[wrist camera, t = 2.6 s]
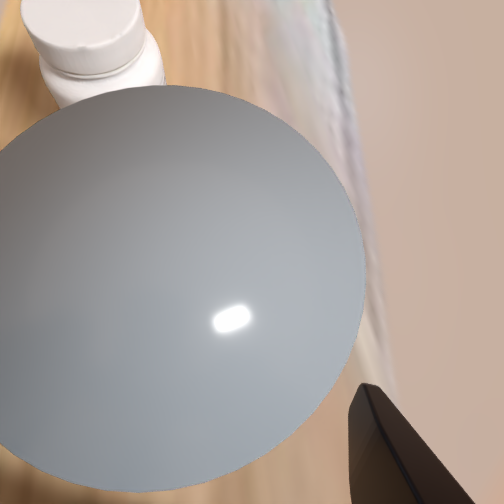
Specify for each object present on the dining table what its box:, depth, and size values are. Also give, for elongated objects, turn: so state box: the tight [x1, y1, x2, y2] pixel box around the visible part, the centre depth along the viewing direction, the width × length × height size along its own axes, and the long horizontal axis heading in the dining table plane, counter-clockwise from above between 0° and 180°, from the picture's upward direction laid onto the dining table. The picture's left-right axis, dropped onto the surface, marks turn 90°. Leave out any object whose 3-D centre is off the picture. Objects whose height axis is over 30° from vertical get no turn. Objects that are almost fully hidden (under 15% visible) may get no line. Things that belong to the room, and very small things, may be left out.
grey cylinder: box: [0, 85, 366, 493], centre depth 12 cm, size 6×6×13 cm
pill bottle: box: [20, 0, 167, 109], centre depth 17 cm, size 5×5×8 cm
